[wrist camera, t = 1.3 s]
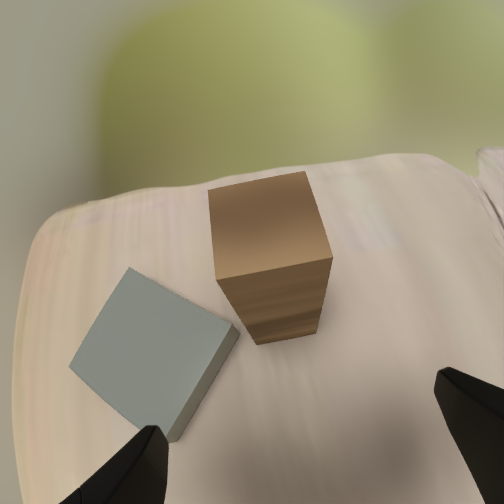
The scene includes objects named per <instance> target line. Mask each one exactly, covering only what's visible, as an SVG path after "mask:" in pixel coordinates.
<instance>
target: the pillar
mask: <svg viewBox="0 0 504 504" xmlns="http://www.w3.org/2000/svg"><path fill="white" fill-rule="evenodd" d="M208 197H209V210H210V222H211V233H212V245H213V255H214V266H215V276H216V281H217V282H218V284H219V286H220V287H221V289H222V291H223V292H224V294H225V295H226V297H227V299H228V300H229V302H230V304H231V305H232V307H233V308H234V310H235V311H236V313H237V315H238V316H239V318H240V319H241V321H242V323H243V324H244V326H245V327H246V329H247V330H248V332H249V333H250V335H251V337H252V338H253V340H254V341H255V343H256V344H257V345H259V344H265V343H270V342H276V341H281V340H286V339H292V338H297V337H302V336H306V335H311V334H316V330H317V326H318V322H319V318H320V314H321V310H322V306H323V301H324V297H325V293H326V288H327V284H328V279H329V274H330V270H331V265H332V260H333V255H332V252H331V248H330V245H329V242H328V239H327V235H326V232H325V229H324V226H323V223H322V220H321V217H320V214H319V211H318V207H317V204H316V201H315V199H314V196H313V193H312V190H311V187H310V184H309V181H308V178H307V175H306V173H305V171H302V172H296V173H291V174H285V175H280V176H274V177H269V178H264V179H259V180H254V181H249V182H244V183H239V184H234V185H229V186H225V187H220V188H215V189H211V190H208Z"/></svg>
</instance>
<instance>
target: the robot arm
mask: <svg viewBox="0 0 504 504" xmlns="http://www.w3.org/2000/svg"><path fill="white" fill-rule="evenodd" d="M434 394H435V397H436V399H437V401H438V404H439V406H440V409H441V411H442V414H443V416H444V419H445V421H446V424H447V426H448V429H449V431H450V433H451V435H452V437H453V438H454V440H455V442H456V444H457V446H458V448H459V450H460V452H461V454H462V456H463V458H464V460H465V462H466V464H467V466H468V468H469V470H470V472H471V474H472V476H473V478H474V480H475V482H476V484H477V487H478V489H479V491H480V493H481V495H482V497H483V500H484V502H485V504H504V389H502V388H499V387H497V386H494V385H492V384H490V383H487V382H485V381H482V380H480V379H478V378H475V377H473V376H470V375H468V374H466V373H463V372H461V371H459V370H456V369H454V368H451V367H446V368H443V369H441V370H439V371H438V372H437V376H436V381H435V386H434ZM168 452H169V444H168V440H167V439H166V437H165V435H164V434H163V432H162V430H161V429H160V427H159V426H158V425H146V426H144V427H143V428H142V429H141V430H140V431H139V432H138V433H137V434H136V435H135V436H134V437H133V438H132V439H131V440H130V441H129V442H128V443H127V444H126V445H125V446H123V447H122V448H121V449H120V450H119V451H118V452H117V453H116V454H115V455H114V456H113V457H112V458H111V459H110V460H108V461H107V462H106V463H105V464H104V465H103V466H102V467H101V468H100V469H99V470H98V471H96V472H95V473H94V474H93V475H92V476H91V477H90V478H89V479H88V480H86V481H85V482H84V483H83V484H82V485H81V486H80V488H77V489H76V490H75V491H74V492H73V493H72V494H70V495H69V496H68V497H67V498H66V499H64V500H63V501H62V502H60V503H59V504H164V500H165V494H166V487H167V475H168Z"/></svg>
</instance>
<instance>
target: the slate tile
mask: <svg viewBox="0 0 504 504" xmlns="http://www.w3.org/2000/svg"><path fill="white" fill-rule="evenodd" d="M239 335H240V334H239V332H238V331H237V330H236V328H235V327H234V326H233V324H231V323H229V322H227V321H225V320H223V319H221V318H220V317H218V316H216V315H214V314H212V313H210V312H208V311H206V310H204V309H202V308H201V307H199V306H197V305H195V304H193V303H191V302H190V301H188V300H186V299H184V298H182V297H180V296H179V295H177V294H175V293H173V292H172V291H170V290H168V289H166V288H164V287H163V286H161V285H159V284H157V283H156V282H154V281H152V280H151V279H149V278H147V277H145V276H144V275H142V274H140V273H139V272H137V271H135V270H134V269H132V268H130V267H129V268H128V270H127V271H126V273H125V274H124V276H123V277H122V279H121V280H120V282H119V283H118V285H117V286H116V288H115V289H114V291H113V293H112V294H111V296H110V297H109V299H108V300H107V302H106V304H105V305H104V307H103V308H102V310H101V312H100V313H99V315H98V317H97V318H96V320H95V322H94V323H93V325H92V327H91V328H90V330H89V332H88V333H87V335H86V337H85V338H84V340H83V342H82V344H81V345H80V347H79V349H78V351H77V352H76V354H75V356H74V358H73V360H72V361H71V363H70V365H69V368H70V369H71V370H72V371H73V372H74V373H75V374H76V375H77V376H78V377H80V378H81V379H82V380H83V381H84V382H85V383H86V384H87V385H88V386H89V387H90V388H91V389H92V390H93V391H94V392H95V393H97V394H98V395H99V396H100V397H101V398H102V399H103V400H104V401H105V402H107V403H108V404H109V405H110V406H111V407H112V408H114V409H115V410H116V411H117V412H118V413H120V414H121V415H122V416H123V417H124V418H126V419H127V420H128V421H129V422H131V423H132V424H133V425H134V426H136V427H137V428H138V429H140V430H141V429H142V428H143V427H144V426H146V425H158V426H159V427H160V429H161V430H162V432H163V434H164V435H165V437H166V439H167V440H168V443H172V442H177V440H178V439H179V437H180V435H181V434H182V432H183V430H184V429H185V427H186V426H187V424H188V422H189V421H190V419H191V417H192V416H193V414H194V412H195V411H196V409H197V407H198V406H199V404H200V402H201V400H202V399H203V397H204V395H205V394H206V392H207V390H208V389H209V387H210V385H211V384H212V382H213V380H214V378H215V377H216V375H217V373H218V372H219V370H220V368H221V366H222V365H223V363H224V361H225V359H226V358H227V356H228V354H229V352H230V351H231V349H232V347H233V345H234V344H235V342H236V340H237V338H238V337H239Z"/></svg>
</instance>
